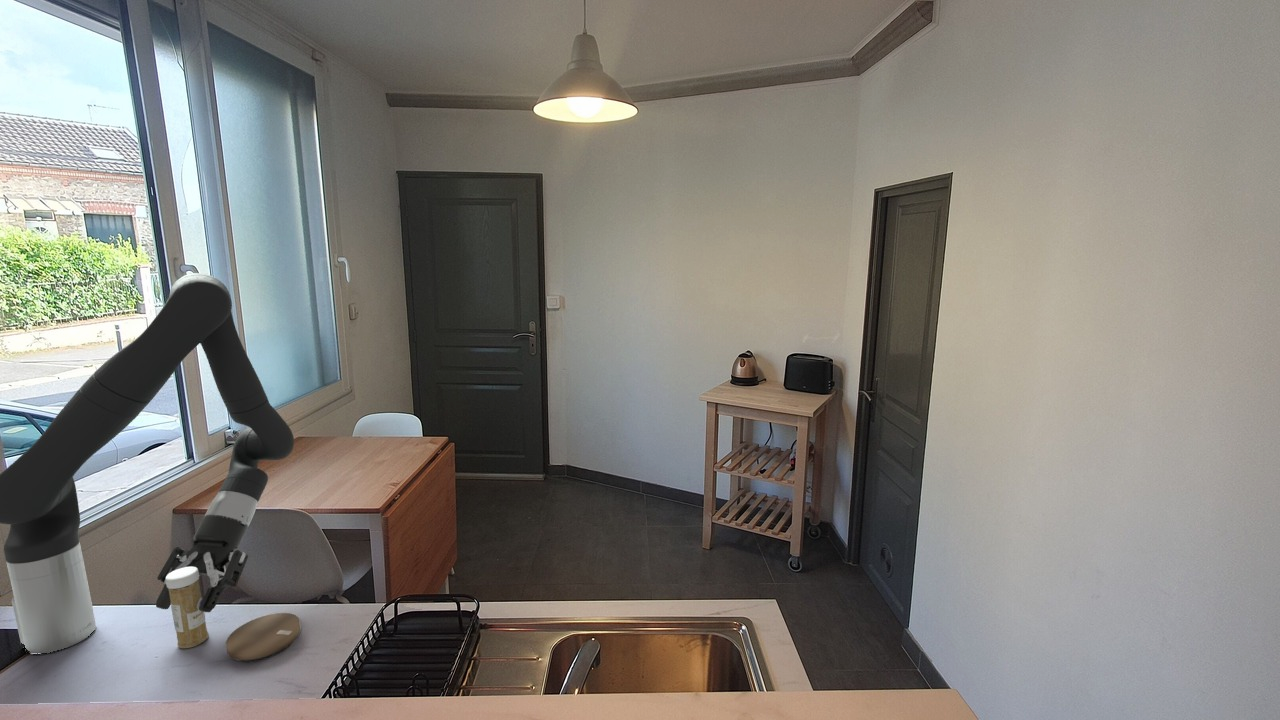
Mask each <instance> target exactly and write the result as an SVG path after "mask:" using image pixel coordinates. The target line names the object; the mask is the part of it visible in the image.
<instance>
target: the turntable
mask: <svg viewBox="0 0 1280 720" xmlns="http://www.w3.org/2000/svg"><path fill="white" fill-rule="evenodd" d="M301 630H302V629H301V622H300V618H299V616H298V615H296V614H293V613H290V612H279V613H278V612H277V613H270V614H266V615H263V616H262V615H261V616H260V617H257V618H255V619H251V620H250V621H247V622H246V623H244V624H242V625H241V626H239V627H237V628H236V629H235V630H233V631H232V632H231V633H230V634H229V635H228V637H227V639H226V641H225V648H226V653H227V656H228V657H229V658H231V659H233V660H237V661H239V660H252V659H257V658H261V657H265V656H268V655H270V654H273V653H275V652H277V651H279V650H281V649H283V648H285V647H286V646H288V645H289V644H291V643H292V642H293V643H294V641H295V640H296V639H297V638H298V637H299V635H300V633H301ZM293 643H292V644H293ZM292 644H291V645H292Z"/></svg>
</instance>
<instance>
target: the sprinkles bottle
mask: <svg viewBox="0 0 1280 720" xmlns="http://www.w3.org/2000/svg"><path fill="white" fill-rule="evenodd" d="M170 572H171V571H170ZM170 572H168V574H167V576H166V585H167V588H168V590H169V594H170V600H171V605H170V608H171V612H172V621H173V624H174V630H175V634H176V639H177V647H178V648H180V649H190V648H194V647H196V646H198V645H200V644H202V643H203V642H204V643H205V641H206V640H207V639H208V638H209V632H208V628H207V621H206V612H203V611H200V610H199V606H200V604H201V602H202V600H203V598H202V594H201V587H200V576H199V572H198V569H197V568H196V567H184V568H180V569H177V570H175V571H173V572H171V573H170Z"/></svg>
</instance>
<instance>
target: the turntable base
mask: <svg viewBox="0 0 1280 720" xmlns="http://www.w3.org/2000/svg"><path fill="white" fill-rule="evenodd" d="M293 643H294V641H293V642H292V643H291V644H289V645H288V646H286V647H285V648H283V649H281V650H279V651H277V652H275V653H273V654H270V655H268V656H265V657H261V658H257V659H252V660H238V661H240V662H243V663H255V662H259V661H260V662H261V661H264V660H267V659H269V658H272V657H275V656H277V655H279V654H280V653H282V652H284V651H285V650H287V649H288V648H289V647H290V646H292V644H293Z"/></svg>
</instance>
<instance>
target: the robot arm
mask: <svg viewBox="0 0 1280 720" xmlns="http://www.w3.org/2000/svg"><path fill="white" fill-rule="evenodd" d="M232 307H233V302H232V297H231V294H230V291H229V289H228V288H227V287H226V285H225V284H224V283H223V282H222V281H221V280H219V278H217V277H214V276H212V275H210V274H208V273H207V274H206V273H203V272H202V273H201V272H194V273H188V274H185V275H183V276H181V277H179V279H177V280H176V281H175V282H174V283H173V284H172V287H171V289H170V291H169V295H168V298H167V300H166V302H165V303H164V305H163V307H162V308H161V310H160V311H159V312H158V314H157V315H156V316H155V317H154V318H153V320H152V322H151V323H149V325H148V326H147V327H146V328H145V330H144V331H143V332H142V333H141V334H140V335H139V336H138V337H136V338H135V339H134V340H132V341H131V342H129V344H128V345H126V346H124V347H123V348H122V349H120V350H119V351H118V352H116V353H115V354H114V355H112V356H111V357H110V358H109V359H107V360H106V361H105V362H104V363H103V364H101V365H100V367H98V368H97V369H96V370H95V371H94V372H93V373H92V374H91V376H90V377H89V378H88V379H87V380H85V382H84V383H83V384H82V385H81V386H80V388H79V389H78V390H77V391H76V392H75V393H74V394H73V396H72V397H71V398H70V399H69V400H68V402H67V403H65V405H64V406H63V408H62V409H61V410H60V411H59V412H58V413H57V415H56V416H55V417H54V419H53V420H52V421H51V423H50V424H49V426H47V428H46V429H45V430H44V432H43V433H42V434H41V435H40V437H39V438H38V439H37V440H36V441H35V442H34V443H33V444H32V445H31V446H30V447H29V448H28V449H27V450H26V451H24V452H23V453H22V454H21V455H19V457H18V458H16V460H15V461H13V463H11V464H10V465H9V466H8V467H6V468H5V469H4V470H3V471H2V472H1V473H0V524H2V525H9V526H10V527H9V531H8V536H7V538H6V540H5V543H4V545H3V554H4V558H5V562H6V566H7V571H8V575H9V581H10V584H11V588H12V594H13V597H12V598H11V605H12V610H13V613H14V617H15V623H16V628H17V632H18V635H19V640H20V644H21V643H22V644H24V645H25V648H26V649H27V650H28V651H30V652H32V653H37V654H38V653H47V654H50V652H51V653H54V652H53V651H55V652H58V651H57V650H59V651H61V649H62V650H64V648H65V649H66V648H69V647H72V646H74V645H76V644H79V643H80V642H82V641H84V640H86V639H87V638H88V636H89V637H90V636H91V635H92V634H93V633H94V632H95V631H96V629H97V624H96V618H95V613H94V608H93V607H94V606H93V603H92V598H91V593H90V592H91V591H90V588H89V582H88V576H87V572H86V568H85V567H86V566H85V561H84V556H83V553H82V547H81V543H80V537H79V530H80V525H81V514H80V507H79V500H78V492H77V488H76V481H75V480H74V476H75V474H76V473H77V472H79V470H80V469H81V467H83V465H84V464H85V463H87V461H88V460H89V459H91V457H93V456H94V455H95V454H96V453H97V452H98V451H100V450H101V449H103V447H104V446H106V445H107V444H109V442H111V441H112V440H114V439H115V438H116V437H117V436H118V435H119V434H121V432H122V431H124V430H125V429H126V428H127V427H128V426H129V425H130V424H131V423H132V422H133V421H134V420H135V419H136V418H137V417H138V416H139V415H140V414H141V413H142V412H143V410H145V409H146V407H147V406H148V404H149V403H151V401H152V400H153V399H154V398H155V397H156V395H158V393H159V392H160V391H161V389H162V388H163V387H164V386H165V385H166V383H167V382H168V381H169V379H170V378H171V377H172V375H173V374H174V373H175V372H176V370H177V368H178V367H179V366H180V364H181V363H182V362H183V361H184V359H186V357H187V356H188V355H189V354H190V353H191V352H192V351H193V350H194V349H195V348H197V346H199V345H201V348H202V349H203V352H204V354H205V356H206V360H207V362H208V366H209V368H210V370H211V374H212V377H213V380H214V382H215V385H216V388H217V390H218V393H219V395H220V398H221V399H222V402H223V403H224V406H225V408H226V410H227V412H228V415H229V417H230V418H231V419H232V421H233V422H234V423H237V424H239V425H243V426H246V427H247V428H245V429H244V430H242V431H241V432H239V433H240V434H239V435H238V436H237V437H236V439H235V441H234V443H233V447H232V452H231V458H230V462H229V467H228V468H229V469H228V474H227V475H226V477H225V479H224V481H223V483H222V485H221V486H220V488H219V491H218V492H217V494H216V496H215V497H214V498H213V500H212V502H211V503H210V504H209V507H208V509H207V511H206V513H205V514H204V516H203V518H202V520H201V522H200V524H199V526H198V528H197V530H195V531H196V532H195V534H194V535H193V544H192V546H191V547H190V549H184V548H181V547H180V546H177V547H175V548H173V550H172V551H171V554H170V556H169V557H168V558H167V560H166V561H165V563H164V566H163V567H162V568H161V570H160V572H159V574H158V575H157V578H156V579H157V580H158V581H160V582H162V583H164V584H163V585H164V586H163V587H162V590H161V591H160V594H159V595H158V597H157V600H156V603H155V604H156V605H155V607H156V608H158V609H161V610H169V609H170V608H171V600H170V594H169V590H168V588H167V585H166V576H167V575H168V574H169V573H171V572H173V571H175V570H177V569H180V568H184V567H196V568H197V569H198V572H199V577H200V576H204V575H205V576H207V577H208V578H209V583H210V587H208V588H207V590H206V592H205V594H204V596H203V598H202V602H201V604H200V606H199V610H200V611H203V612H204V613H211V612H212V610H213V609H214V608H216V605H217V603H218V602H219V599H220V597H221V594H222V593H223V591H225V590H226V589H228V588H235V587H237V585H238V583H239V580H240V578H241V576H242V573H243V571H244V568H245V565H246V563H247V560H248V558H249V554H247V553H245V552H244V551H241V550H238V548H239V547H240V545H241V543H242V540H243V539H244V538H245V535H246V533H247V530H248V528H249V526H250V524H251V522H252V519H253V518H254V515H255V512H256V509H257V506H258V504H259V501H260V500H261V498H262V495H263V493H264V491H265V488H266V487H267V484H268V481H269V476H268V474H267V472H265V471H264V470H262V469H260V468H258V465H259V463H260V461H280V460H283V459H285V458H287V457H289V456H290V455H291V453H292V452H293V449H294V447H295V446H294V445H295V438H294V435H293V431H292V429H291V428H290V426H289V425H288V423H287V422H286V421H285V420H284V419H283V417H282V416H281V415H280V413H278V411H277V410H276V409H275V408H274V407H273V406H272V405H271V403H270V401H269V398H268V396H267V393H266V391H265V390H264V387H263V385H262V382H261V380H260V378H259V376H258V374H257V372H256V370H255V367H254V366H253V364H252V363H251V362H252V361H251V360H250V358H249V356H248V354H247V353H246V350H245V348H244V346H243V343H242V341H241V339H240V336H239V334H238V330H237V328H236V325H235V322H234V317H233V314H232ZM226 565H227V567H226ZM95 628H96V629H95ZM94 630H95V631H94ZM93 631H94V632H93ZM92 632H93V633H92ZM91 633H92V634H91ZM90 634H91V635H90ZM26 649H25V650H26Z"/></svg>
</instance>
